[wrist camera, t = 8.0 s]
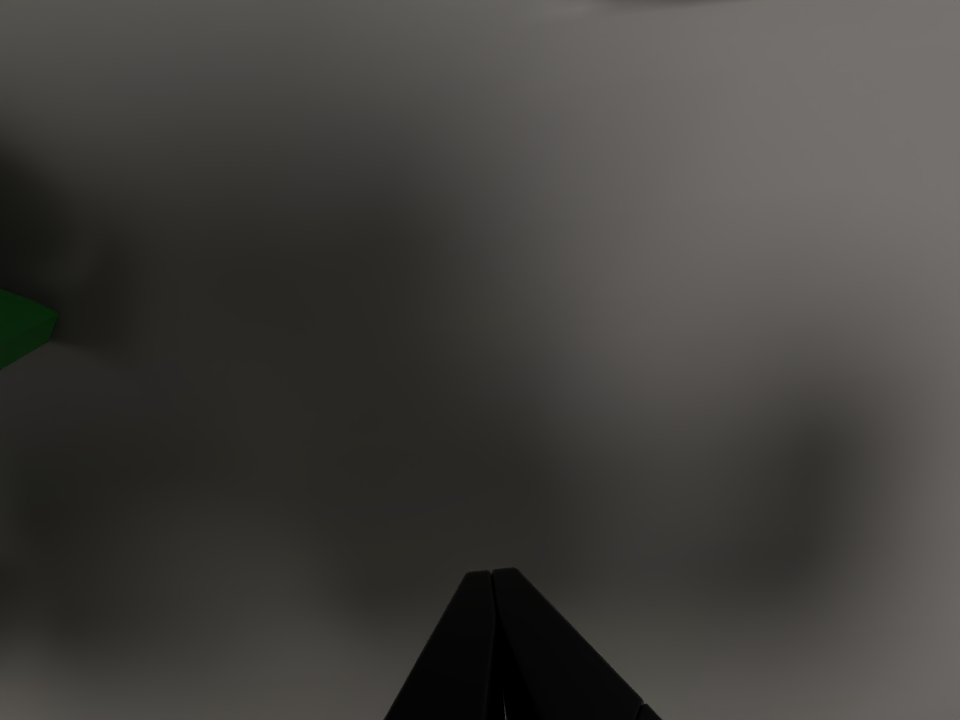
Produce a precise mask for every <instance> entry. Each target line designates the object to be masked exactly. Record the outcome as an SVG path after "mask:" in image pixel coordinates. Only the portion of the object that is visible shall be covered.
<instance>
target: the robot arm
mask: <svg viewBox="0 0 960 720" xmlns="http://www.w3.org/2000/svg"><path fill="white" fill-rule="evenodd" d="M504 706H505V710H504ZM505 713H506V720H662V719H661V718H660V717H659V716H658V715H657V714H656V713H655V712H654V711H653V709H652V708H651V707H650V706H649V705H648V704H644V701H643V700H642V698H641V697H640V696H639V695H638V694H637V693H636V692H635V691H634V690H633V689H632V688H631V687H630V686H629V685H628V684H627V683H626V682H625V681H624V680H623V678H622V677H621V676H620V675H619V674H618V673H617V672H616V671H615V670H614V669H613V668H612V667H611V666H610V665H609V664H608V663H607V662H606V661H605V660H604V659H603V658H602V657H601V656H600V655H599V653H598V652H597V651H596V650H595V649H594V648H593V647H592V646H591V645H590V644H589V643H588V642H587V641H586V640H585V639H584V638H583V637H582V636H581V635H580V634H579V633H578V632H577V631H576V630H575V629H574V627H573V626H572V625H571V624H570V623H569V622H568V621H567V620H566V619H565V618H564V617H563V616H562V615H561V614H560V613H559V612H558V611H557V610H556V609H555V608H554V607H553V606H552V605H551V604H550V602H549V601H548V600H547V599H546V598H545V597H544V596H543V595H542V594H541V593H540V592H539V591H538V590H537V589H536V588H535V587H534V586H533V585H532V584H531V583H530V582H529V581H528V580H527V579H526V577H525V576H524V575H523V574H522V573H521V572H520V571H519V570H518V569H516V568H514V567H512V568H503V569H495V570H493V571H492V575H491V573H490V571H488V570H484V571H474V572H468V573H466V574H465V576H464V577H463V579H462V581H461V583H460V585H459V586H458V588H457V590H456V592H455V593H454V595H453V597H452V599H451V601H450V602H449V604H448V606H447V608H446V609H445V611H444V613H443V615H442V617H441V618H440V620H439V622H438V624H437V625H436V627H435V629H434V631H433V633H432V634H431V636H430V638H429V640H428V642H427V643H426V645H425V647H424V649H423V650H422V652H421V654H420V656H419V658H418V659H417V661H416V663H415V665H414V666H413V668H412V670H411V672H410V674H409V675H408V677H407V679H406V681H405V683H404V684H403V686H402V688H401V690H400V691H399V693H398V695H397V697H396V699H395V700H394V702H393V704H392V706H391V707H390V709H389V711H388V713H387V715H386V716H385V718H384V720H505Z"/></svg>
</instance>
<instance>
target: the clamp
mask: <svg viewBox="0 0 960 720" xmlns="http://www.w3.org/2000/svg"><path fill="white" fill-rule="evenodd" d="M58 315H59V313H58V312H56V311H54V310H52V309H50V308H48V307H46V306H43V305H41V304H39V303H37V302H35V301H32V300H30V299H27V298H24V297H22V296H19V295H16V294H14V293H11V292H8V291H6V290H3V289H0V369H2V368H4V367H5V366H7V365H9V364H11V363H12V362H14V361H16V360H17V359H19V358H21V357H22V356H24V355H26V354H27V353H29V352H31V351H32V350H34V349H36V348H37V347H39V346H41V345H42V344H44V343H46V342H47V341H48V340H49V338H50V335H51V333H52V330H53V328H54V325H55V323H56V320H57V318H58Z"/></svg>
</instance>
